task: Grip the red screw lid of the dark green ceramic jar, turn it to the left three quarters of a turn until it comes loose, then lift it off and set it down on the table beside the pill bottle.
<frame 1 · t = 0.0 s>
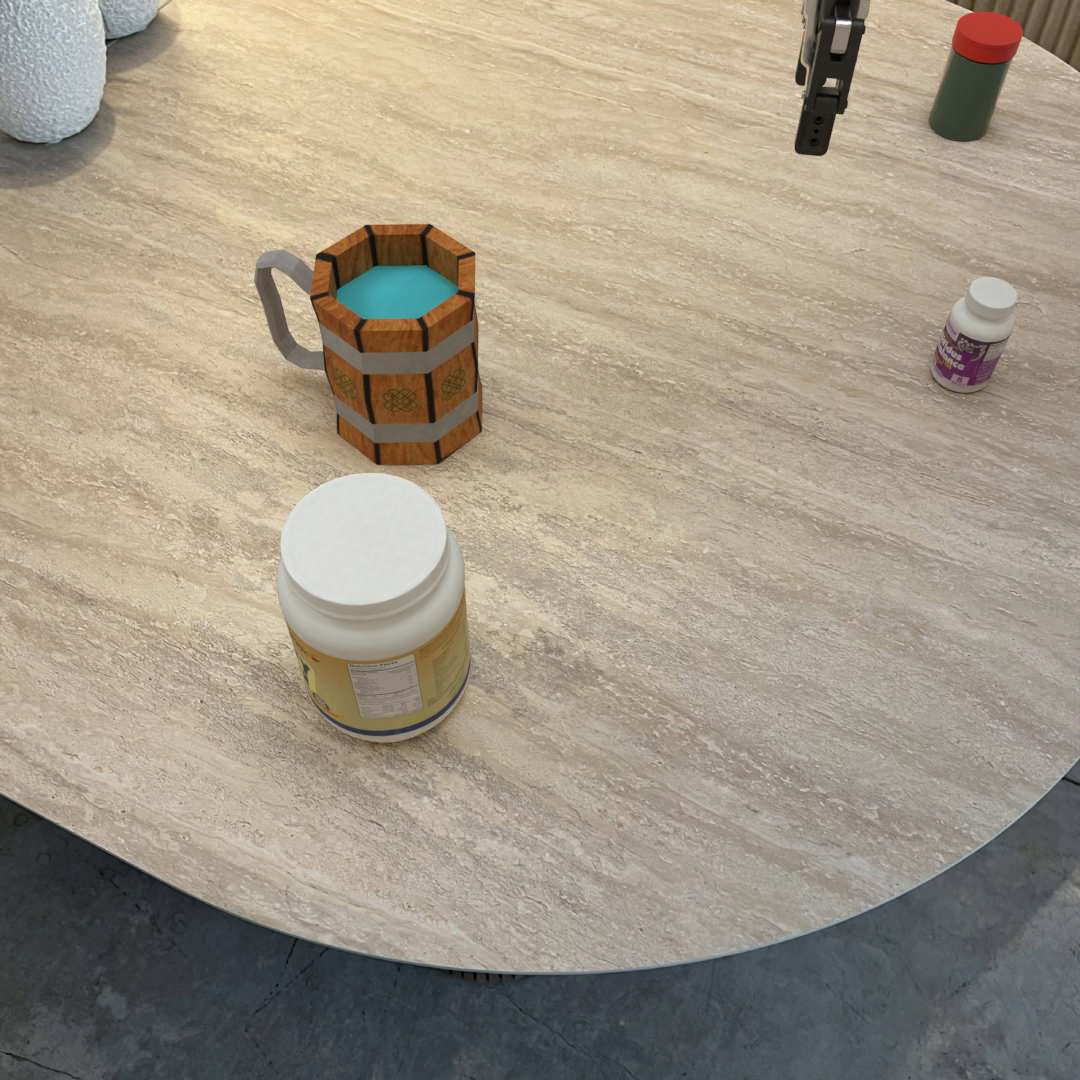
hand: (809, 116, 80), 27 cm above the table, tool pointing down, fingers open, 8 cm apart
lid: (988, 32, 119), point 11 cm above the table, screwed on, not yet turned
jar: (957, 124, 127), on the table
supplement tub: (390, 675, 84), on the table
pill bottle: (958, 375, 104), on the table
mug: (379, 402, 101), on the table
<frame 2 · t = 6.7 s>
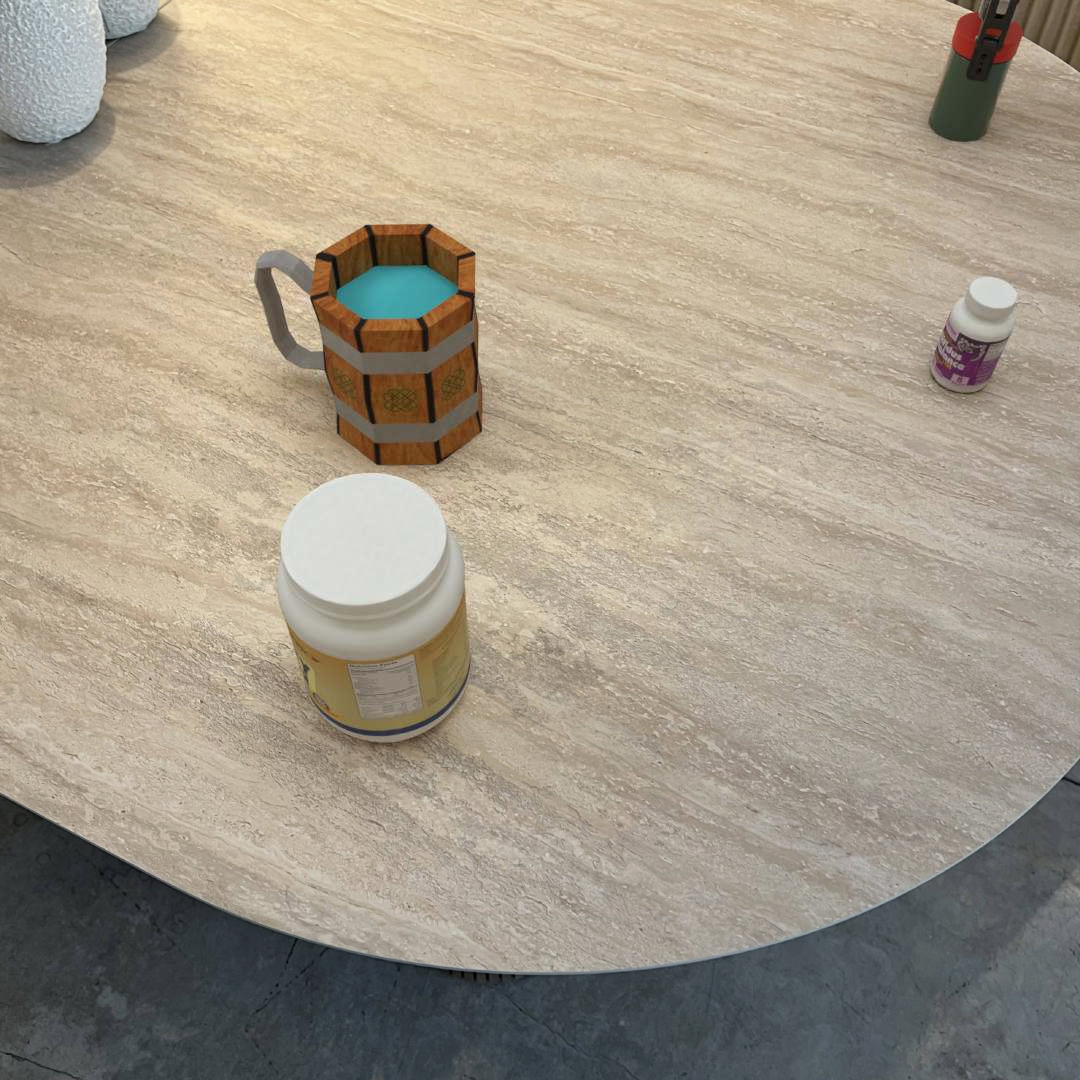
hand: (978, 60, 121), 8 cm above the table, tool pointing down, fingers closed on lid, 6 cm apart
lid: (988, 32, 119), point 11 cm above the table, screwed on, not yet turned, touching gripper
everything else where it was.
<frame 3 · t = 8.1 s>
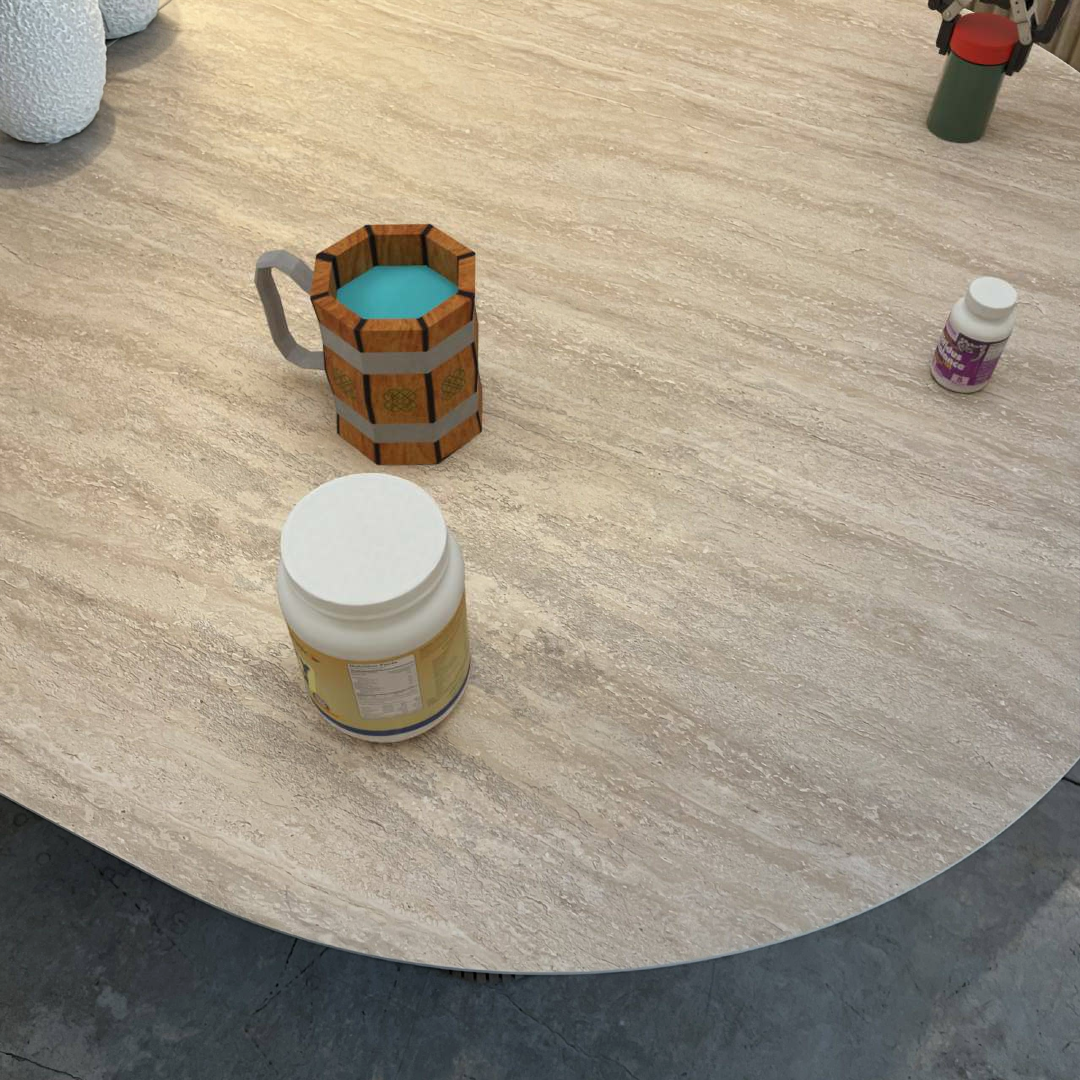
hand: (977, 61, 121), 8 cm above the table, tool pointing down, fingers closed on lid, 6 cm apart
lid: (986, 33, 118), point 11 cm above the table, turned 73° so far, risen 0.1 cm, still on its thread, touching gripper
jar: (955, 125, 127), on the table
everything else where it was.
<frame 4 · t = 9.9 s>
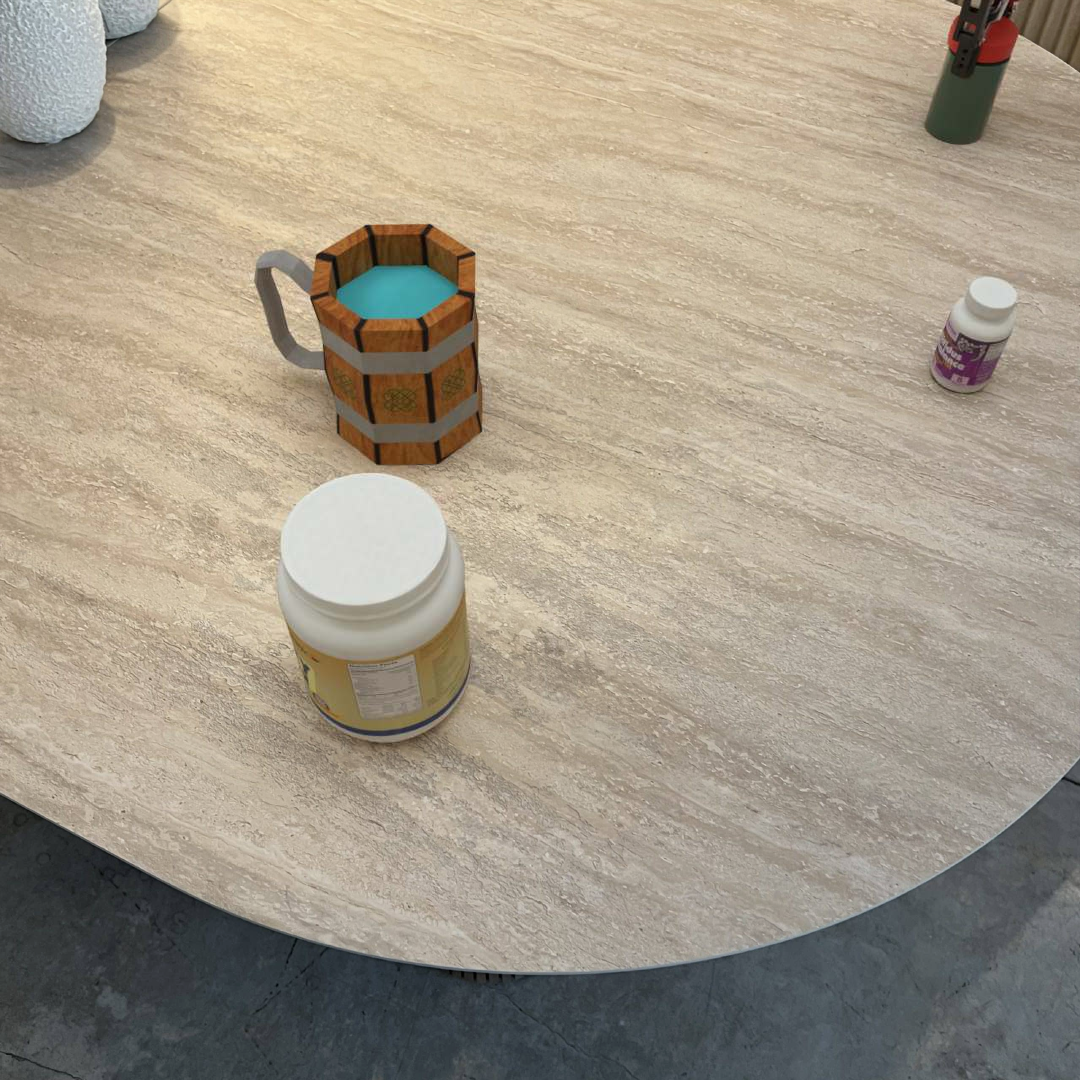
hand: (974, 59, 121), 8 cm above the table, tool pointing down, fingers closed on lid, 6 cm apart
lid: (984, 31, 118), point 11 cm above the table, off its thread, touching gripper
jar: (953, 127, 127), on the table
everything else where it was.
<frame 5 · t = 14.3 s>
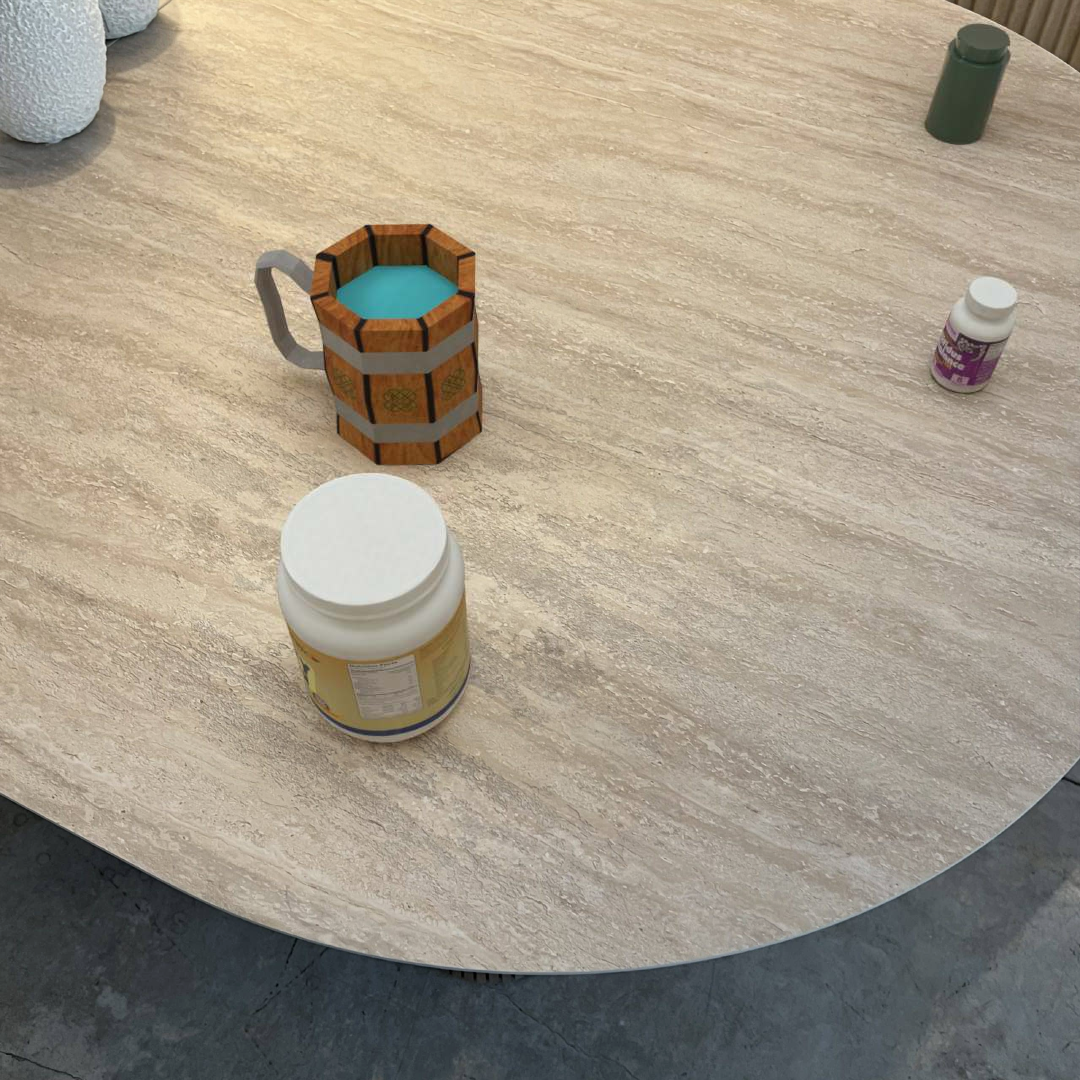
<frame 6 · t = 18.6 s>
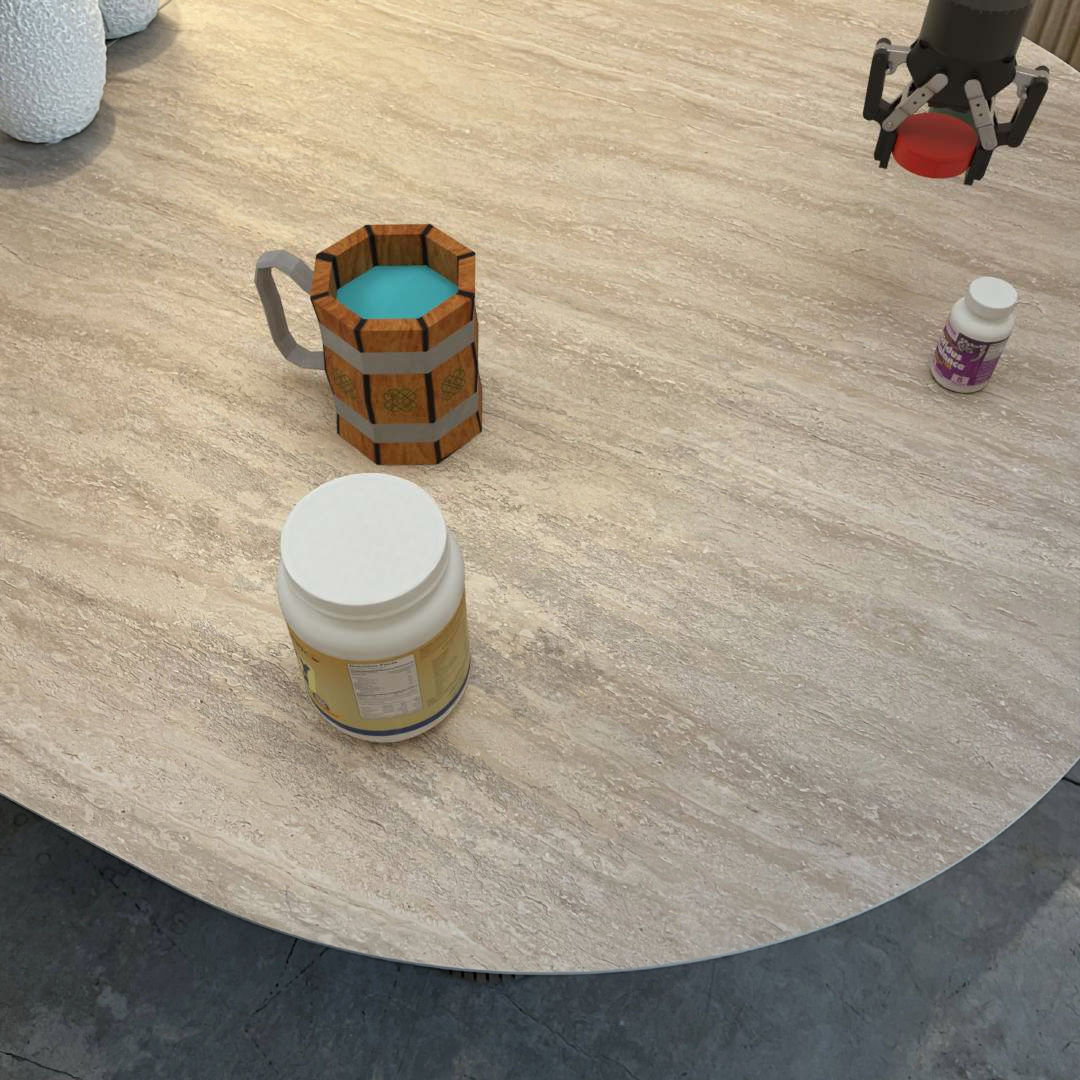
hand: (926, 171, 99), 14 cm above the table, tool pointing down, fingers closed on lid, 6 cm apart
lid: (935, 139, 97), point 17 cm above the table, off its thread, touching gripper
everything else where it was.
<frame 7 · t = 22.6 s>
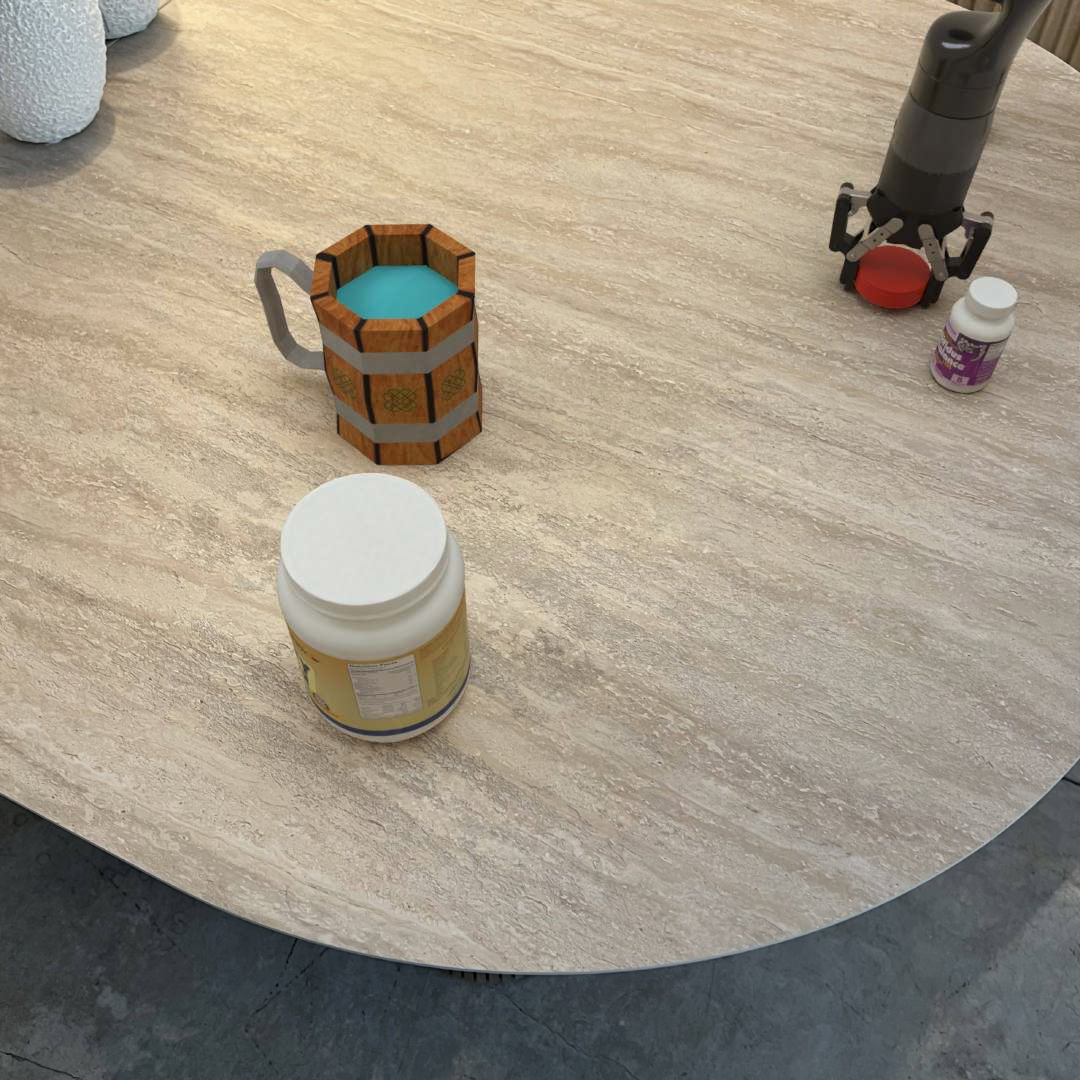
hand: (886, 293, 110), 0 cm above the table, tool pointing down, fingers closed on lid, 6 cm apart
lid: (893, 272, 108), point 3 cm above the table, off its thread, touching gripper
everything else where it was.
when the fingers open (0 cm above the table, at t = 22.7 s): lid drops 1 cm, point 1 cm above the table.
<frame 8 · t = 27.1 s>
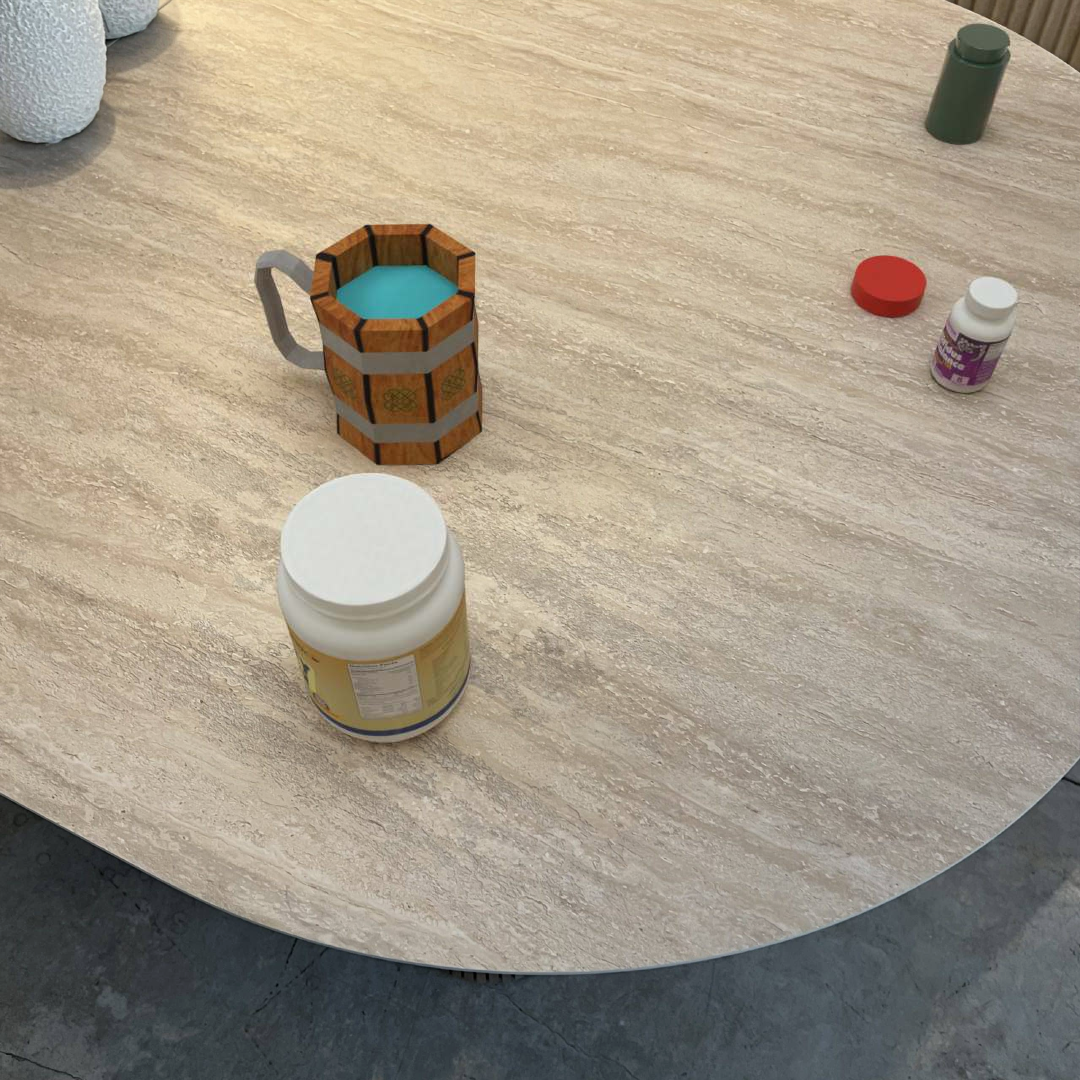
lid: (889, 281, 109), point 1 cm above the table, off its thread
everything else where it was.
at the end: lid point 1.5 cm above the table; lid 11.8 cm from the pill bottle (horizontally); jar tilted 0° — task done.
